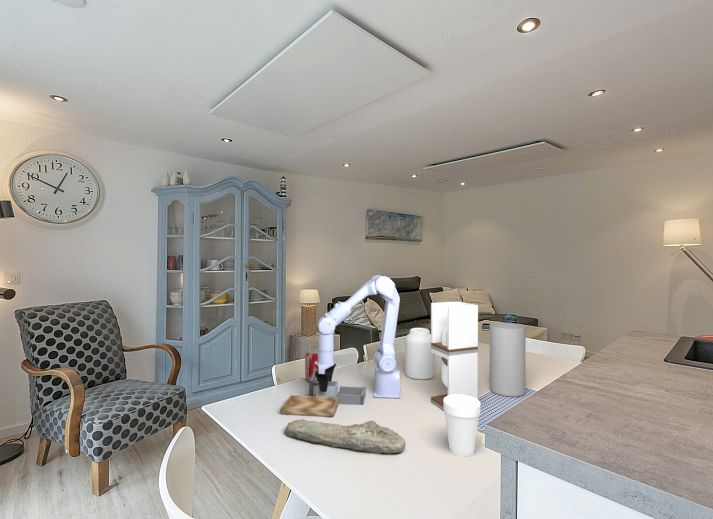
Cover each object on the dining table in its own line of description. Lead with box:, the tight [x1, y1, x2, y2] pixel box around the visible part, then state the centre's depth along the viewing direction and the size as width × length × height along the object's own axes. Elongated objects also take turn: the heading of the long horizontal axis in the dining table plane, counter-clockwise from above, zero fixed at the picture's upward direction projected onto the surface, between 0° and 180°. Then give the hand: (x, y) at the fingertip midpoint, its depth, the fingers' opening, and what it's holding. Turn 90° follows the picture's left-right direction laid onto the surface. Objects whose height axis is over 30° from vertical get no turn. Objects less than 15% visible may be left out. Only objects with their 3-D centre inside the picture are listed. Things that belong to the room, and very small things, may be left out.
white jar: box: [404, 327, 436, 381], centre depth 157 cm, size 12×12×20 cm
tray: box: [280, 394, 340, 418], centre depth 123 cm, size 17×10×2 cm, turn 83°
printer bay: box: [336, 385, 367, 406], centre depth 131 cm, size 10×8×3 cm
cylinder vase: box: [489, 322, 527, 398], centre depth 139 cm, size 12×12×25 cm
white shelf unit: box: [430, 301, 479, 413], centre depth 125 cm, size 11×11×35 cm
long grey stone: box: [285, 418, 406, 455], centre depth 102 cm, size 35×5×10 cm
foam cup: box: [443, 395, 481, 457], centre depth 97 cm, size 10×9×13 cm
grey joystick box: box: [308, 380, 339, 397], centre depth 132 cm, size 10×4×6 cm, turn 80°
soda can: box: [304, 349, 319, 383], centre depth 152 cm, size 7×7×12 cm
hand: (325, 387), depth 132 cm, fingers open, 7 cm apart
